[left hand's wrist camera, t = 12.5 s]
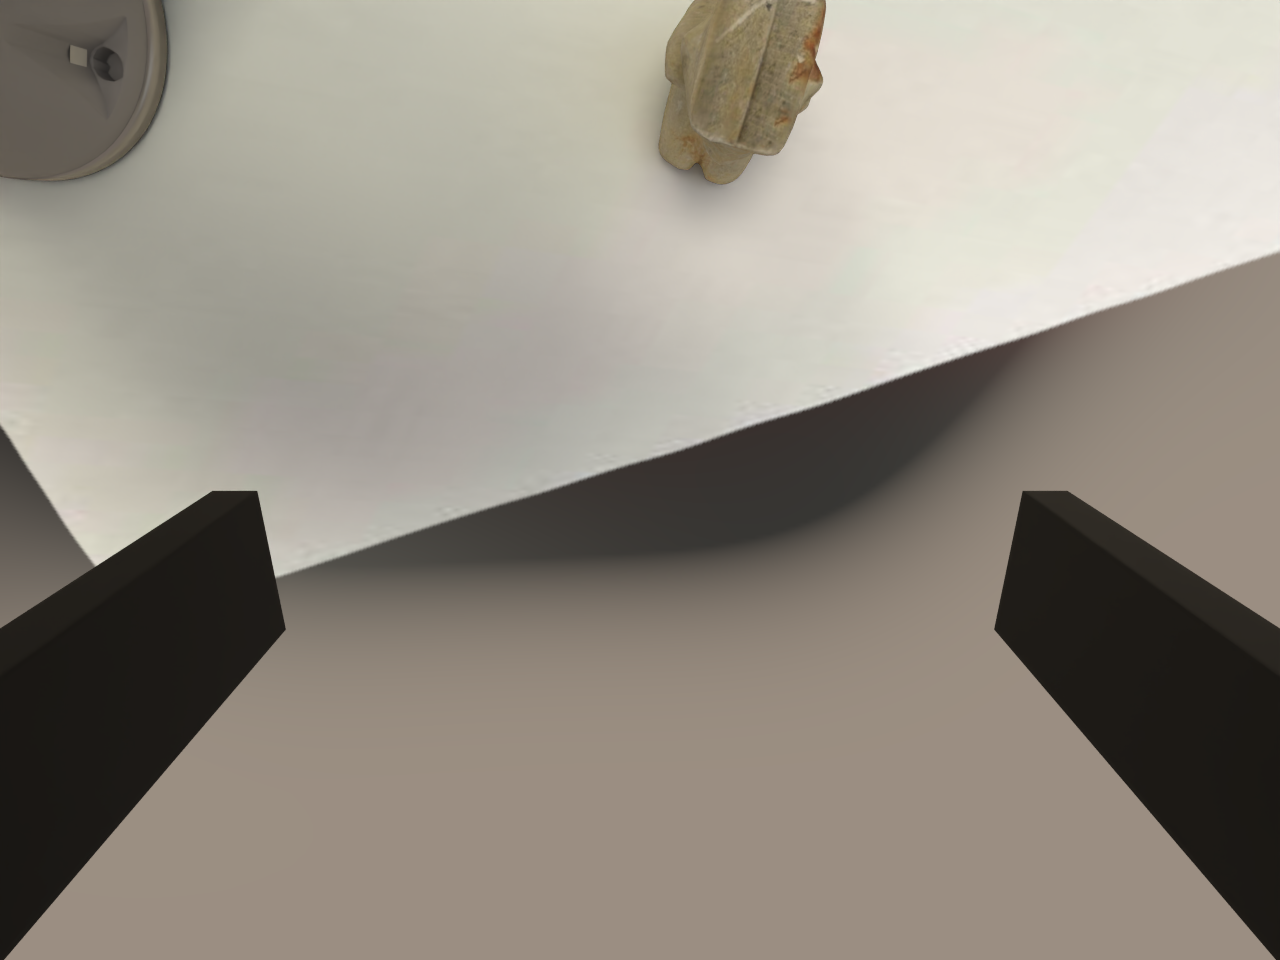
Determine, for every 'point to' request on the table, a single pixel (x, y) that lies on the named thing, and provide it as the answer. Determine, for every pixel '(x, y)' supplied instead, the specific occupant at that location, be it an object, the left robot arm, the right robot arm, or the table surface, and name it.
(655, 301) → the table surface
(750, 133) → the sculpture
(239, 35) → the table surface
